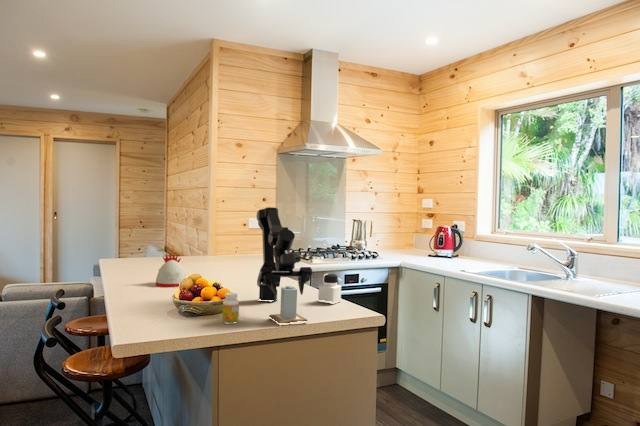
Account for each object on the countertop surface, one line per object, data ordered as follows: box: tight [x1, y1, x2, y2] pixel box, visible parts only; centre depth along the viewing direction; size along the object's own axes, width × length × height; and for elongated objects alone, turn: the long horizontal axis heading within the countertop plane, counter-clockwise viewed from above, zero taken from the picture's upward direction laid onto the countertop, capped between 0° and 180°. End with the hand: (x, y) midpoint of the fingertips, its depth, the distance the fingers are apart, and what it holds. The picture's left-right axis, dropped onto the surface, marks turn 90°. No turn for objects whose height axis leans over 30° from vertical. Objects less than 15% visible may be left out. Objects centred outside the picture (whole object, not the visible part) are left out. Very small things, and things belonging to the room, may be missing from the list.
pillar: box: [279, 285, 298, 319], centre depth 162 cm, size 4×4×11 cm
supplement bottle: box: [221, 292, 240, 324], centre depth 157 cm, size 5×5×10 cm
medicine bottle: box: [317, 273, 342, 302], centre depth 196 cm, size 7×7×12 cm
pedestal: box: [268, 313, 308, 323], centre depth 162 cm, size 10×10×2 cm
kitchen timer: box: [155, 253, 187, 288], centre depth 221 cm, size 14×14×15 cm
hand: (289, 294), depth 161 cm, fingers open, 9 cm apart
